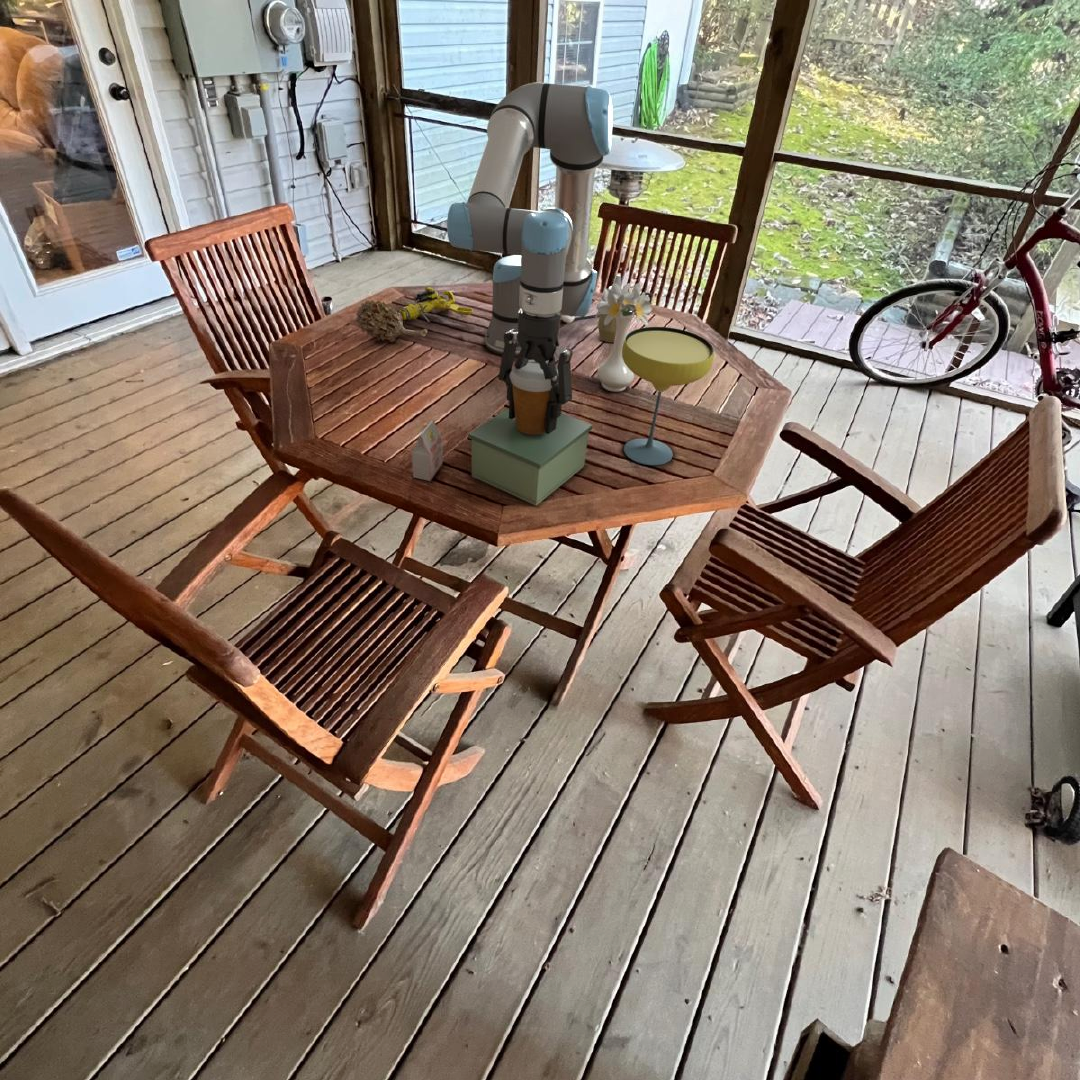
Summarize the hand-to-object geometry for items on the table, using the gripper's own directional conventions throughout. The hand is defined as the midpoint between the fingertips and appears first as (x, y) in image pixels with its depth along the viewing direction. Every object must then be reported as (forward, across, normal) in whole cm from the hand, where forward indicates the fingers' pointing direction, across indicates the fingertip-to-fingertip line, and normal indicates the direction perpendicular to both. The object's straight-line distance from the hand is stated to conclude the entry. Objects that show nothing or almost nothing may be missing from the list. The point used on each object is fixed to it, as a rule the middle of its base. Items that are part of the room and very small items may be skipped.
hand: (532, 423), depth 135 cm
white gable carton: (+11, -16, -13) cm, 24 cm away
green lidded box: (+11, 0, 0) cm, 11 cm away
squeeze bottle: (+11, -21, +71) cm, 75 cm away
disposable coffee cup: (+1, 0, 0) cm, 1 cm away
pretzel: (+11, -40, +75) cm, 86 cm away
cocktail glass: (+11, +16, +23) cm, 30 cm away
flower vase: (+11, -6, +46) cm, 48 cm away
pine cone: (+11, -64, +28) cm, 71 cm away
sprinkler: (+11, -69, +49) cm, 85 cm away
